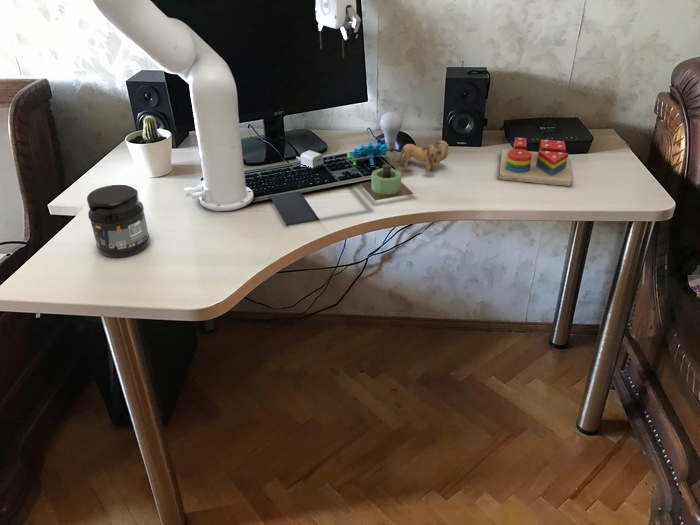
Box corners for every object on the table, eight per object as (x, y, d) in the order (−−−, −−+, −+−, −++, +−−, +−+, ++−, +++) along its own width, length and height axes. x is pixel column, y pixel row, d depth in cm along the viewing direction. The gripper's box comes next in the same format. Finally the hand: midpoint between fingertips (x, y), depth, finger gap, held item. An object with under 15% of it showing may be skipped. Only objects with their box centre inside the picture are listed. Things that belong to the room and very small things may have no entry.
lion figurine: (449, 171, 156) (452, 138, 151) (443, 179, 151) (446, 145, 147) (396, 162, 161) (397, 130, 156) (389, 170, 156) (390, 137, 152)
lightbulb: (376, 147, 170) (377, 109, 164) (396, 145, 171) (397, 107, 166) (383, 155, 165) (384, 116, 159) (404, 152, 166) (406, 114, 161)
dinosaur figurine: (387, 152, 162) (388, 137, 152) (391, 172, 161) (392, 158, 151) (347, 159, 162) (345, 144, 152) (350, 179, 161) (349, 166, 151)
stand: (374, 204, 139) (375, 176, 136) (359, 187, 147) (359, 160, 144) (413, 198, 142) (415, 170, 139) (396, 181, 150) (397, 155, 146)
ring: (378, 196, 140) (378, 181, 138) (367, 184, 146) (367, 170, 144) (405, 192, 143) (406, 177, 140) (393, 180, 148) (394, 166, 146)
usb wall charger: (312, 172, 155) (312, 158, 153) (294, 165, 159) (293, 151, 157) (323, 167, 158) (322, 153, 156) (304, 161, 162) (303, 147, 160)
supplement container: (105, 234, 128) (92, 183, 122) (155, 232, 129) (145, 181, 122) (91, 260, 119) (76, 206, 113) (144, 258, 120) (133, 205, 113)
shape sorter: (567, 160, 162) (571, 139, 158) (570, 186, 147) (575, 164, 144) (501, 154, 165) (504, 133, 162) (499, 179, 151) (502, 157, 148)
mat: (286, 225, 131) (286, 224, 131) (270, 197, 143) (270, 195, 143) (370, 210, 137) (370, 209, 137) (348, 184, 149) (348, 183, 149)
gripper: (299, -36, 126) (304, 48, 135) (341, -28, 114) (343, 64, 123) (330, -39, 129) (333, 43, 139) (373, -31, 117) (374, 58, 126)
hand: (338, 53), depth 131 cm, fingers open, 9 cm apart
